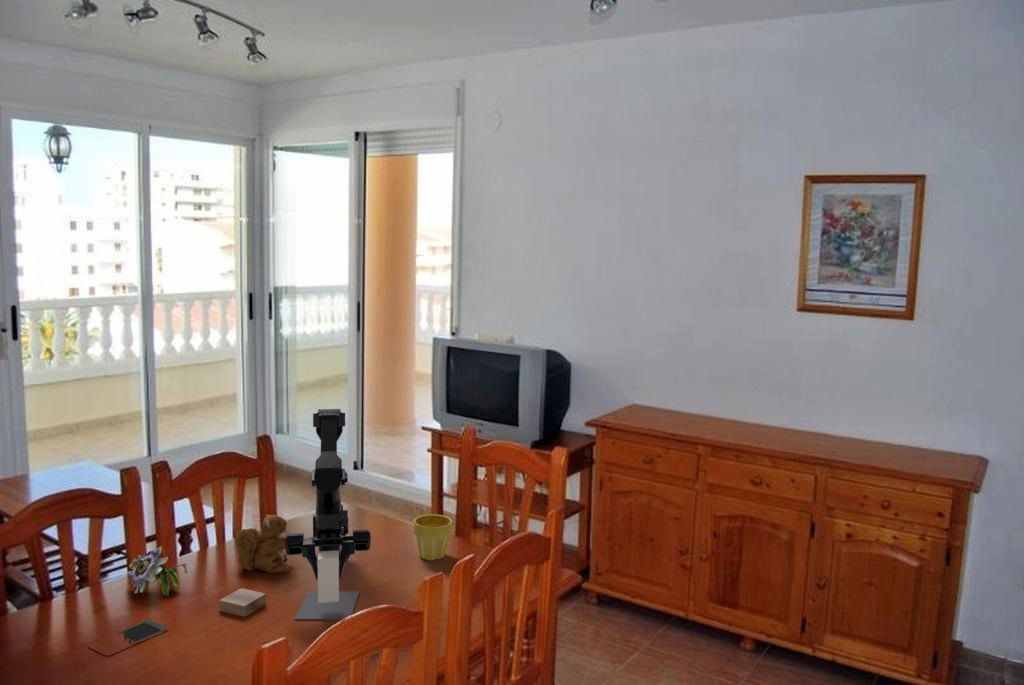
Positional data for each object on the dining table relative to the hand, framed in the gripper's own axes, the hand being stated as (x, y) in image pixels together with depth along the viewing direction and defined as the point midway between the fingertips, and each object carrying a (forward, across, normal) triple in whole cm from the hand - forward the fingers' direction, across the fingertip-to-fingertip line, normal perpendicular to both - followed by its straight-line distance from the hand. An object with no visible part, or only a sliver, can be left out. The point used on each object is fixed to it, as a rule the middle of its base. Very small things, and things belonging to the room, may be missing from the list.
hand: (328, 578), depth 174 cm
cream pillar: (+3, 0, +4) cm, 5 cm away
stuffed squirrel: (-15, -16, +28) cm, 36 cm away
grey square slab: (+1, -19, +11) cm, 22 cm away
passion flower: (-8, -40, +21) cm, 46 cm away
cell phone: (+9, -40, +4) cm, 41 cm away
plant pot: (-15, +27, +28) cm, 42 cm away
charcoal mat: (+3, 0, +10) cm, 10 cm away
